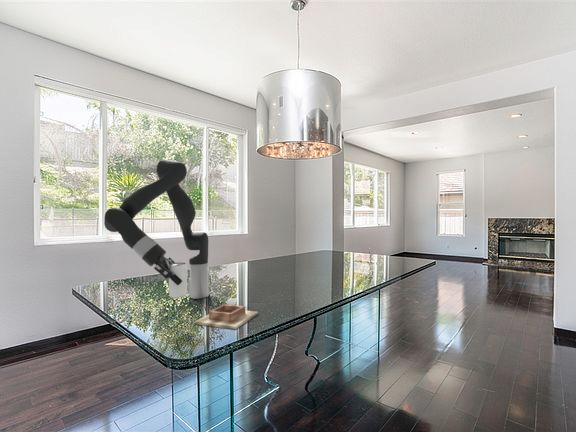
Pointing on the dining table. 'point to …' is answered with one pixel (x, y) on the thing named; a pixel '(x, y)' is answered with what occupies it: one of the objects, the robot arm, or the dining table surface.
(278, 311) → the dining table surface
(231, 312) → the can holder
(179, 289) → the can
